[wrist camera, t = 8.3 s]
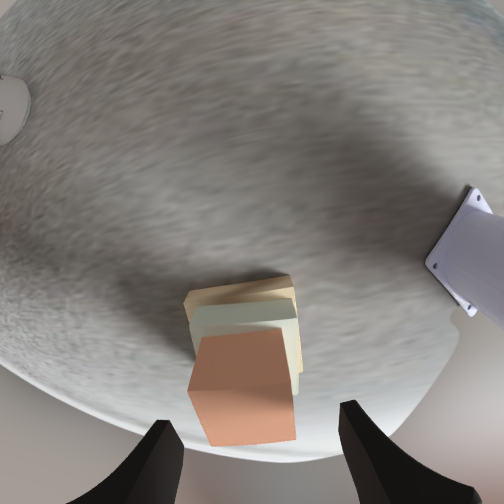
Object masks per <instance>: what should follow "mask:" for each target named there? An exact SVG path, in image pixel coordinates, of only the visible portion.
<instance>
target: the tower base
mask: <svg viewBox="0 0 504 504" xmlns="http://www.w3.org/2000/svg"><path fill="white" fill-rule="evenodd" d="M281 299H292V301H293V305H294V308H295V311H296V314H297V310H296V302H295V294H294V286H293V284H292V281H291V278H290V275H286V276H280V277H274V278H268V279H262V280H256V281H249V282H243V283H237V284H230V285H224V286H217V287H211V288H204V289H197V290H190V291H189V293H188V295H187V297H186V299H185V301H184V303H183V304H184V307H185V311H186V314H187V317H188V321H189V324H190V322H191V319H192V317H193V314H194V311H195V309H196V306H207V305H222V304H235V303H248V302H260V301H271V300H281ZM301 372H303V364H302V354H301V345H300V336H299V327H298V373H301Z"/></svg>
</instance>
